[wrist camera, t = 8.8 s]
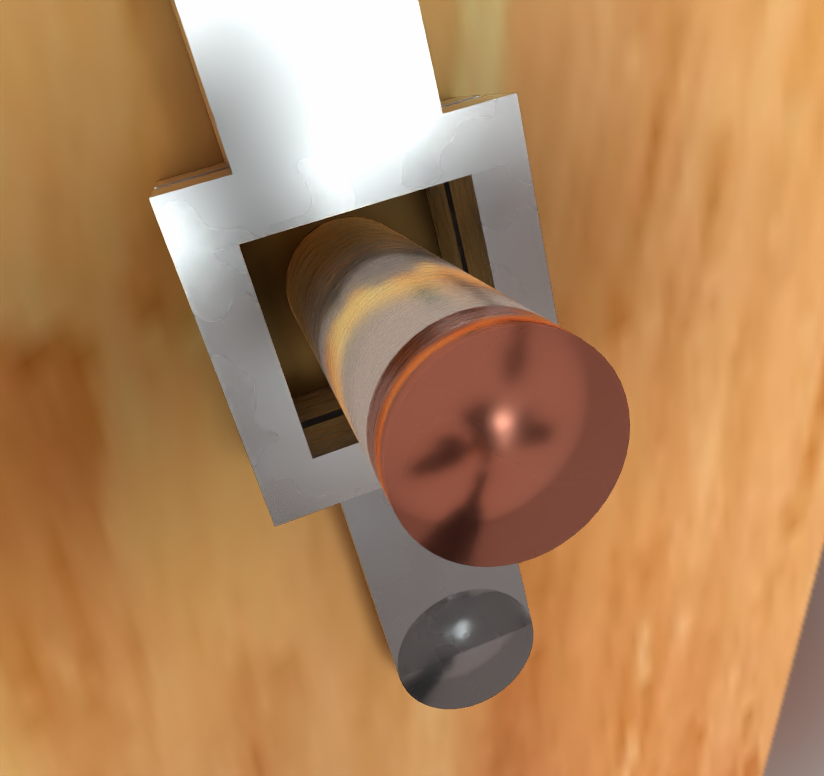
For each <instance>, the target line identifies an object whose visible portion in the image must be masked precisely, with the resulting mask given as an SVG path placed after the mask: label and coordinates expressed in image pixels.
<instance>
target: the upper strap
mask: <svg viewBox="0 0 824 776" xmlns="http://www.w3.org/2000/svg"><path fill="white" fill-rule="evenodd" d="M170 2H171V4H172V7H173V10H174V13H175V16H176V19H177V22H178V25H179V28H180V31H181V34H182V37H183V40H184V43H185V46H186V49H187V52H188V55H189V58H190V61H191V64H192V67H193V70H194V73H195V76H196V79H197V82H198V85H199V88H200V90H201V93H202V96H203V99H204V102H205V105H206V108H207V111H208V114H209V117H210V120H211V123H212V126H213V129H214V132H215V135H216V138H217V141H218V144H219V147H220V150H221V153H222V156H223V159H224V162H225V163H226V165H227V166H228V169H224V170H221V171H217V172H214V173H210V174H207V175H203V176H199V177H196V178H192V179H189V180H185V181H182V182H178V183H175V184H171V185H168V186H164V187H161V188H157V189H154V190H153V191H152V193H151V195H150V197H149V200H150V203H151V205H152V208H153V211H154V213H155V216H156V218H157V221H158V224H159V226H160V229H161V231H162V234H163V237H164V239H165V242H166V244H167V247H168V250H169V252H170V255H171V257H172V260H173V263H174V265H175V268H176V270H177V273H178V276H179V278H180V281H181V283H182V286H183V289H184V291H185V294H186V297H187V299H188V302H189V304H190V307H191V310H192V312H193V315H194V317H195V320H196V323H197V325H198V328H199V330H200V333H201V336H202V338H203V341H204V343H205V346H206V349H207V351H208V354H209V356H210V359H211V362H212V364H213V367H214V369H215V372H216V375H217V377H218V380H219V382H220V385H221V388H222V390H223V393H224V395H225V398H226V401H227V403H228V406H229V408H230V411H231V414H232V416H233V419H234V421H235V424H236V427H237V429H238V432H239V434H240V437H241V440H242V442H243V445H244V447H245V450H246V453H247V455H248V458H249V460H250V463H251V466H252V468H253V471H254V473H255V476H256V479H257V481H258V484H259V486H260V489H261V492H262V494H263V497H264V499H265V502H266V505H267V507H268V510H269V512H270V515H271V518H272V520H273V523H274V525H275V526H278V525H280V524H283V523H286V522H289V521H291V520H294V519H297V518H300V517H302V516H305V515H308V514H311V513H313V512H316V511H319V510H321V509H324V508H327V507H330V506H332V505H335V504H338V503H341V502H343V501H346V500H349V499H352V498H354V497H357V496H360V495H363V494H365V493H368V492H371V491H374V490H376V489H379V488H382V487H381V485H380V483H379V481H378V479H377V477H376V475H375V473H374V471H373V469H372V467H371V465H370V463H369V461H368V459H367V457H366V455H365V453H364V451H363V450H362V448H361V446H360V444H359V442H358V440H357V438H356V436H355V434H354V432H353V430H352V428H351V426H350V424H349V422H348V420H347V418H346V416H345V415H342V416H339V417H336V418H333V419H331V420H328V421H325V422H322V423H319V424H316V425H313V426H310V427H307V428H305V429H302V426H301V424H300V421H299V418H298V415H297V412H296V409H295V406H294V403H293V400H292V397H291V395H290V392H289V389H288V386H287V383H286V380H285V377H284V374H283V371H282V368H281V366H280V363H279V360H278V357H277V354H276V351H275V348H274V345H273V342H272V339H271V337H270V334H269V331H268V328H267V325H266V322H265V319H264V316H263V313H262V310H261V308H260V305H259V302H258V299H257V296H256V293H255V290H254V287H253V284H252V281H251V279H250V276H249V273H248V270H247V267H246V264H245V261H244V258H243V255H242V252H241V250H240V247H239V244H242V243H246V242H249V241H252V240H256V239H259V238H262V237H265V236H269V235H272V234H275V233H279V232H282V231H285V230H289V229H292V228H295V227H299V226H302V225H305V224H309V223H312V222H315V221H318V220H322V219H325V218H328V217H332V216H335V215H338V214H342V213H345V212H348V211H352V210H355V209H358V208H362V207H365V206H368V205H372V204H375V203H378V202H381V201H385V200H388V199H391V198H395V197H398V196H401V195H405V194H408V193H411V192H415V191H418V190H421V189H425V188H428V187H431V186H434V185H438V184H441V183H444V182H448V181H449V186H450V190H451V195H452V199H453V204H454V208H455V213H456V217H457V222H458V226H459V231H460V235H461V240H462V244H463V249H464V253H465V258H466V262H467V267H468V271H469V274H470V275H471V276H473V277H475V278H477V279H478V280H480V281H482V282H484V283H485V284H487V285H489V286H490V287H492V288H494V289H496V290H497V291H499V292H501V293H503V294H504V295H506V296H508V297H509V298H511V299H513V300H515V301H516V302H518V303H520V304H522V305H523V306H525V307H527V308H528V309H530V310H532V311H534V312H535V313H537V314H539V315H541V316H542V317H544V318H546V319H547V320H549V321H551V322H553V323H554V324H556V325H558V323H557V317H556V311H555V306H554V300H553V294H552V289H551V283H550V277H549V272H548V266H547V260H546V255H545V249H544V244H543V238H542V232H541V227H540V221H539V215H538V210H537V204H536V198H535V193H534V187H533V181H532V176H531V170H530V165H529V159H528V153H527V148H526V142H525V136H524V131H523V125H522V119H521V114H520V108H519V102H518V97H517V93H506V94H491V95H484V96H480V97H477V98H473V99H470V100H466V101H463V102H459V103H456V104H452V105H449V106H445V107H442V108H441V103H440V99H439V94H438V90H437V85H436V80H435V76H434V71H433V66H432V62H431V57H430V53H429V48H428V43H427V39H426V34H425V30H424V25H423V20H422V16H421V11H420V7H419V2H418V0H170Z"/></svg>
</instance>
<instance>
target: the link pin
mask: <svg viewBox="0 0 824 776" xmlns="http://www.w3.org/2000/svg"><path fill="white" fill-rule="evenodd" d="M286 290H287V297H288V301H289V305H290V307H291V310H292V312H293V314H294V316H295V318H296V320H297V322H298V324H299V326H300V328H301V330H302V332H303V334H304V336H305V337H306V339H307V341H308V343H309V345H310V347H311V349H312V351H313V353H314V355H315V357H316V359H317V361H318V363H319V365H320V367H321V369H322V371H323V373H324V375H325V377H326V379H327V381H328V383H329V385H330V387H331V389H332V391H333V393H334V394H335V396H336V398H337V400H338V402H339V404H340V406H341V408H342V410H343V412H344V414H345V416H346V418H347V420H348V422H349V424H350V426H351V428H352V430H353V432H354V434H355V436H356V438H357V440H358V442H359V444H360V446H361V448H362V450H363V451H364V453H365V455H366V457H367V459H368V461H369V463H370V465H371V467H372V469H373V471H374V473H375V475H376V477H377V479H378V481H379V483H380V485H381V487H382V489H383V491H384V493H385V495H386V497H387V499H388V501H389V503H390V505H391V507H392V508H393V510H394V512H395V514H396V516H397V518H398V519H399V521H400V523H401V525H402V526H403V527H404V528H405V530H406V531H407V532H408V533H409V535H410V536H411V537H412V538H413V539H414V540H416V541H417V542H418V543H419V544H420V545H421V546H422V547H424V548H425V549H427V550H428V551H430V552H431V553H433V554H435V555H437V556H439V557H441V558H443V559H445V560H448V561H451V562H455V563H458V564H462V565H468V566H474V567H497V566H506V565H511V564H516V563H520V562H523V561H526V560H529V559H532V558H535V557H538V556H540V555H542V554H544V553H546V552H548V551H550V550H552V549H554V548H555V547H557V546H559V545H561V544H562V543H564V542H565V541H566V540H568V539H569V538H570V537H572V536H573V535H575V534H576V533H577V532H578V531H579V530H580V529H581V528H582V527H584V526H585V525H586V524H587V523H588V522H589V521H590V520H591V518H592V517H593V516H594V515H595V514H596V513H597V512H598V511H599V509H600V508H601V506H602V505H603V504H604V502H605V501H606V500H607V498H608V496H609V495H610V493H611V491H612V489H613V488H614V486H615V484H616V482H617V480H618V477H619V475H620V473H621V470H622V467H623V464H624V461H625V458H626V454H627V449H628V443H629V433H630V419H629V409H628V404H627V399H626V395H625V392H624V390H623V387H622V384H621V382H620V380H619V378H618V376H617V374H616V373H615V371H614V369H613V368H612V367H611V365H610V364H609V363H608V361H607V360H606V359H605V358H604V357H603V356H602V355H601V354H600V353H599V352H598V351H597V350H596V349H595V348H594V347H592V346H591V345H589V344H588V343H586V342H585V341H583V340H582V339H580V338H579V337H577V336H575V335H573V334H572V333H570V332H568V331H566V330H565V329H563V328H561V327H560V326H558V325H556V324H554V323H553V322H551V321H549V320H547V319H546V318H544V317H542V316H541V315H539V314H537V313H535V312H534V311H532V310H530V309H528V308H527V307H525V306H523V305H522V304H520V303H518V302H516V301H515V300H513V299H511V298H509V297H508V296H506V295H504V294H503V293H501V292H499V291H497V290H496V289H494V288H492V287H490V286H489V285H487V284H485V283H484V282H482V281H480V280H478V279H477V278H475V277H473V276H471V275H470V274H468V273H466V272H465V271H463V270H461V269H459V268H458V267H456V266H454V265H452V264H451V263H449V262H447V261H446V260H444V259H442V258H440V257H439V256H437V255H435V254H433V253H432V252H430V251H428V250H427V249H425V248H423V247H421V246H420V245H418V244H416V243H414V242H413V241H411V240H409V239H408V238H406V237H404V236H402V235H401V234H399V233H397V232H395V231H394V230H392V229H390V228H389V227H387V226H385V225H383V224H381V223H379V222H377V221H374V220H371V219H367V218H362V217H344V218H339V219H334V220H332V221H329V222H326V223H324V224H322V225H320V226H319V227H317V228H316V229H314V230H313V231H311V232H310V233H309V234H308V235H307V236H306V237H305V238H304V239H303V240H302V241H301V243H300V244H299V245H298V247H297V248H296V250H295V252H294V253H293V256H292V258H291V260H290V263H289V267H288V271H287V277H286Z"/></svg>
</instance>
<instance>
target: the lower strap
mask: <svg viewBox="0 0 824 776" xmlns="http://www.w3.org/2000/svg"><path fill="white" fill-rule="evenodd" d="M477 97H480V95H475V96H459V97H453V98H449V99H446V100H442V101H440V103H441V108H442V107H445V106H449V105H452V104H456V103H459V102H463V101H466V100H470V99H473V98H477ZM224 169H228V166H227V165H226V163H225V162H224V163H220V164H216V165H213V166H209V167H206V168H202V169H199V170H195V171H192V172H188V173H185V174H181V175H178V176H174V177H171V178H167V179H164V180H160V181H157V183H156V185H155V187H154V189H157V188H161V187H164V186H168V185H171V184H175V183H178V182H182V181H185V180H189V179H192V178H196V177H199V176H203V175H207V174H210V173H214V172H217V171H221V170H224ZM426 192H427V196H428V201H429V205H430V209H431V213H432V218H433V222H434V226H435V231H436V235H437V239H438V243H439V248H440V252H441V256H442V259H444V260H446V261H447V262H449V263H451V264H452V265H454V266H456V267H458V268H459V269H461V270H463V271H465V272H466V273H468V274H469V271H468V267H467V262H466V258H465V253H464V249H463V244H462V240H461V235H460V231H459V226H458V222H457V217H456V213H455V208H454V204H453V199H452V195H451V190H450V186H449V181H448V182H444V183H441V184H438V185H434V186H431V187H428V188H426ZM292 400H293V403H294V406H295V409H296V412H297V415H298V418H299V421H300V424H301V426H302V429H305V428H307V427H310V426H313V425H316V424H319V423H322V422H325V421H328V420H331V419H333V418H336V417H339V416H342V415H345V414H344V412H343V410H342V408H341V406H340V404H339V402H338V400H337V398H336V396H335V394H334V393H333V391H332V389H331V387H330V386H328V387H325V388H322V389H319V390H316V391H313V392H310V393H307V394H304V395H301V396H298V397H295V398H292ZM340 506H341V509H342V511H343V514H344V517H345V520H346V523H347V526H348V529H349V532H350V535H351V538H352V541H353V544H354V547H355V550H356V553H357V556H358V559H359V562H360V565H361V568H362V571H363V574H364V577H365V580H366V583H367V586H368V589H369V592H370V595H371V597H372V600H373V603H374V606H375V609H376V612H377V615H378V618H379V621H380V624H381V627H382V630H383V633H384V636H385V639H386V642H387V645H388V647H389V650H390V653H391V655H392V658H393V661H394V664H395V666H396V669H397V672H398V674H399V677H400V680H401V682H402V684H403V686H404V687H405V689H406V691H407V692H408V693H409V694H410V695H411V696H412V697H413V698H415V699H416V700H417V701H419V702H421V703H423V704H425V705H428V706H431V707H435V708H440V709H458V708H465V707H469V706H473V705H476V704H478V703H481V702H483V701H485V700H487V699H489V698H491V697H493V696H494V695H496V694H498V693H499V692H500V691H502V690H503V689H504V688H506V687H507V686H508V685H509V684H510V683H511V682H512V681H513V680H514V679H515V678H516V677H517V675H518V674H519V673H520V671H521V670H522V668H523V667H524V665H525V663H526V662H527V659H528V657H529V655H530V651H531V648H532V643H533V627H532V621H531V617H530V613H529V608H528V604H527V600H526V596H525V591H524V587H523V583H522V578H521V574H520V570H519V565H518V563H516V564H511V565H506V566H497V567H474V566H468V565H462V564H458V563H455V562H451V561H448V560H445V559H443V558H441V557H439V556H437V555H435V554H433V553H431V552H430V551H428V550H427V549H425V548H424V547H422V546H421V545H420V544H419V543H418V542H417V541H416V540H414V539H413V538H412V537H411V536H410V535H409V533H408V532H407V531H406V530H405V528H404V527H403V526H402V525H401V523H400V521H399V519H398V518H397V516H396V514H395V512H394V510H393V508H392V507H391V505H390V503H389V501H388V499H387V497H386V495H385V493H384V491H383V489H382V488H379V489H376V490H374V491H371V492H368V493H365V494H363V495H360V496H357V497H354V498H352V499H349V500H346V501H343V502H341V503H340Z"/></svg>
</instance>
